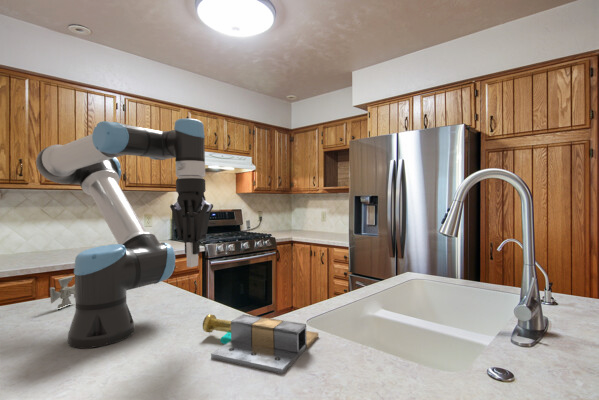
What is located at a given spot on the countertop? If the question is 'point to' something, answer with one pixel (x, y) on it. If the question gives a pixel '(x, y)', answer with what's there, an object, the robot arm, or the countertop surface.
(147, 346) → the countertop surface
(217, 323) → the pin
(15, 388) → the countertop surface
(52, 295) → the cross
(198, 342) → the countertop surface
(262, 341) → the sliding bolt latch
